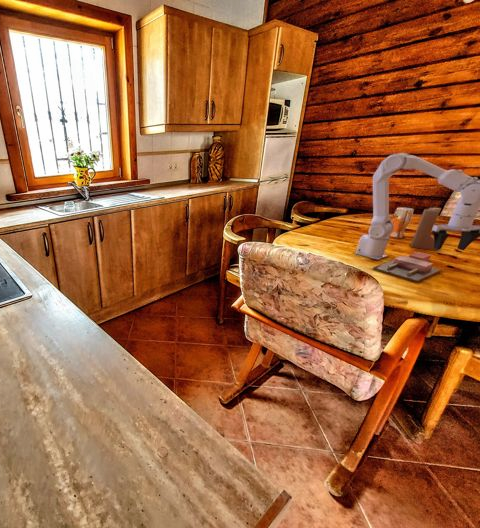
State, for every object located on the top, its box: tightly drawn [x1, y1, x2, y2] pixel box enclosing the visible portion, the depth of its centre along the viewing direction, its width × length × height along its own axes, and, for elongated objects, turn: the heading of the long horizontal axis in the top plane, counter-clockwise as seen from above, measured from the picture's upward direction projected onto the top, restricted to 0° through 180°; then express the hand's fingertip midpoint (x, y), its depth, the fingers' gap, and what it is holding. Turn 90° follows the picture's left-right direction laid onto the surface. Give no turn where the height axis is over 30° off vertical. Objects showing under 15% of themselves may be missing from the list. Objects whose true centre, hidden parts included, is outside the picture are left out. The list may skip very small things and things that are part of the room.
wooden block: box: [410, 208, 440, 252], centre depth 129 cm, size 9×4×18 cm, turn 49°
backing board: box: [373, 255, 441, 284], centre depth 112 cm, size 14×18×4 cm
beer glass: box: [388, 206, 415, 239], centre depth 146 cm, size 7×7×15 cm
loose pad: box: [408, 251, 432, 262], centre depth 119 cm, size 4×7×3 cm, turn 115°
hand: (448, 249), depth 107 cm, fingers open, 7 cm apart
